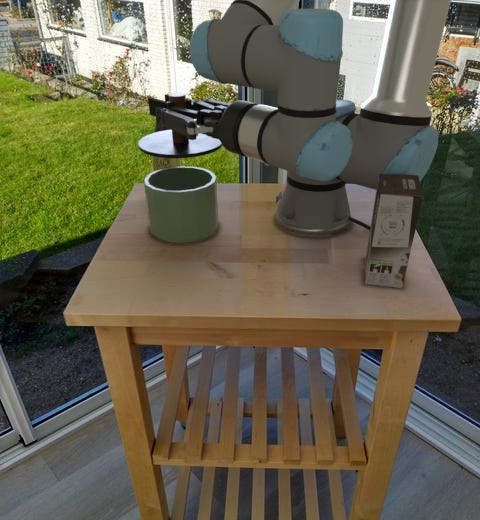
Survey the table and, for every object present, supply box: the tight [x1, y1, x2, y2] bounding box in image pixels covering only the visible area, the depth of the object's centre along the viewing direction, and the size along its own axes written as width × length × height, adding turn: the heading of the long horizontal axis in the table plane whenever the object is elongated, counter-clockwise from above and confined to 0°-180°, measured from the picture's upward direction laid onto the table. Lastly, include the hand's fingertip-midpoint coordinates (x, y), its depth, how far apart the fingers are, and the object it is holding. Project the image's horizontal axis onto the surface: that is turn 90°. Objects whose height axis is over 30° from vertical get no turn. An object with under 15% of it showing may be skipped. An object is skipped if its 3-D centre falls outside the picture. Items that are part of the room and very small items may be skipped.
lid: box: [137, 92, 224, 159], centre depth 84 cm, size 15×15×9 cm
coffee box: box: [364, 174, 424, 289], centre depth 81 cm, size 9×6×16 cm
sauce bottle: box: [152, 117, 182, 172], centre depth 110 cm, size 7×6×20 cm
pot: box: [143, 165, 219, 243], centre depth 98 cm, size 14×14×10 cm
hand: (159, 104), depth 86 cm, fingers closed on lid, 3 cm apart
